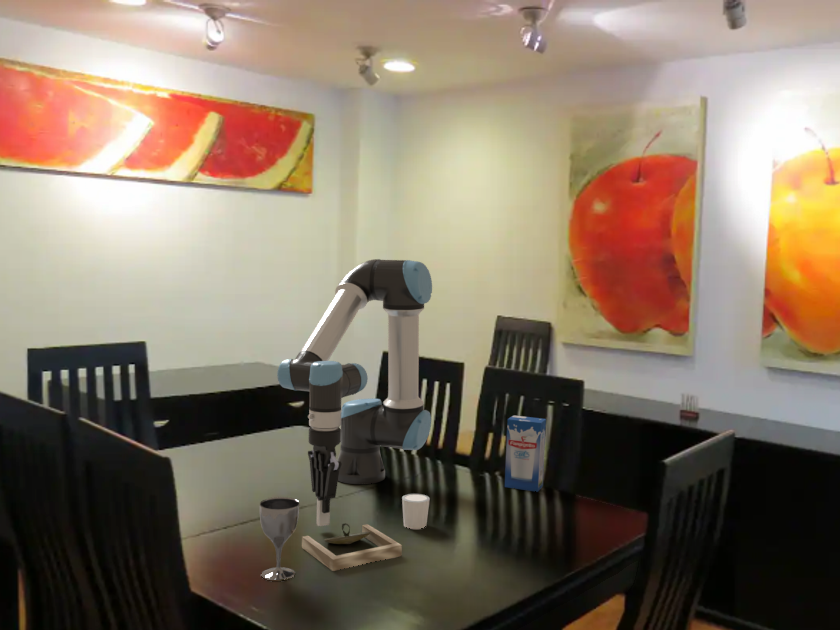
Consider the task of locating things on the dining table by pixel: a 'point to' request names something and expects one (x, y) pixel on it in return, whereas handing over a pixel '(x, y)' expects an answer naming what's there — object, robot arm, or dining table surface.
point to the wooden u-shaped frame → (333, 562)
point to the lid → (347, 537)
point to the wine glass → (279, 530)
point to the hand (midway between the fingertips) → (323, 524)
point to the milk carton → (525, 453)
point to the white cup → (415, 510)
